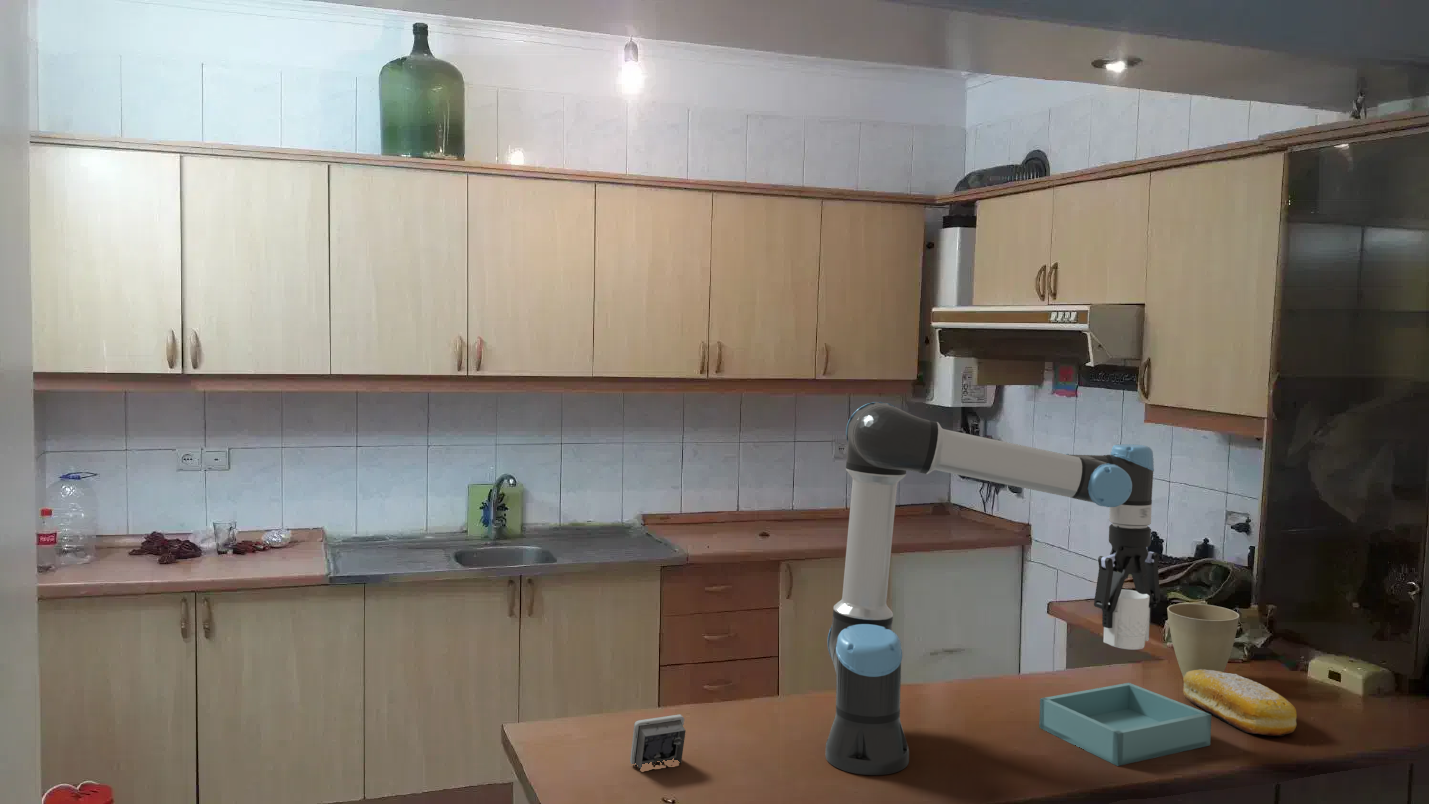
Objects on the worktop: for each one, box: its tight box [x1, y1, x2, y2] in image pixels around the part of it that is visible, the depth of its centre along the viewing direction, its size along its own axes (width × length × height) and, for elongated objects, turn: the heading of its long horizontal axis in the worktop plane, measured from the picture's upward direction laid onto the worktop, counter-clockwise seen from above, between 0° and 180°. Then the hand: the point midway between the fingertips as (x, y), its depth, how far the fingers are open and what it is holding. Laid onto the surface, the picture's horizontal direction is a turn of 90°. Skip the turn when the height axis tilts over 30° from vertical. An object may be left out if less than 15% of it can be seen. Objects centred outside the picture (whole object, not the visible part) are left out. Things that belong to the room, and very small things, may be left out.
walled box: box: [1038, 682, 1212, 767], centre depth 200 cm, size 24×20×6 cm
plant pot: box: [1166, 602, 1240, 678], centre depth 234 cm, size 15×15×16 cm
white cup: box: [1108, 588, 1150, 650], centre depth 199 cm, size 8×8×10 cm
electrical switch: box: [629, 714, 686, 769], centre depth 183 cm, size 9×5×9 cm, turn 113°
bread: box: [1182, 669, 1298, 737], centre depth 211 cm, size 13×26×8 cm, turn 12°
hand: (1126, 641), depth 199 cm, fingers closed on white cup, 8 cm apart
